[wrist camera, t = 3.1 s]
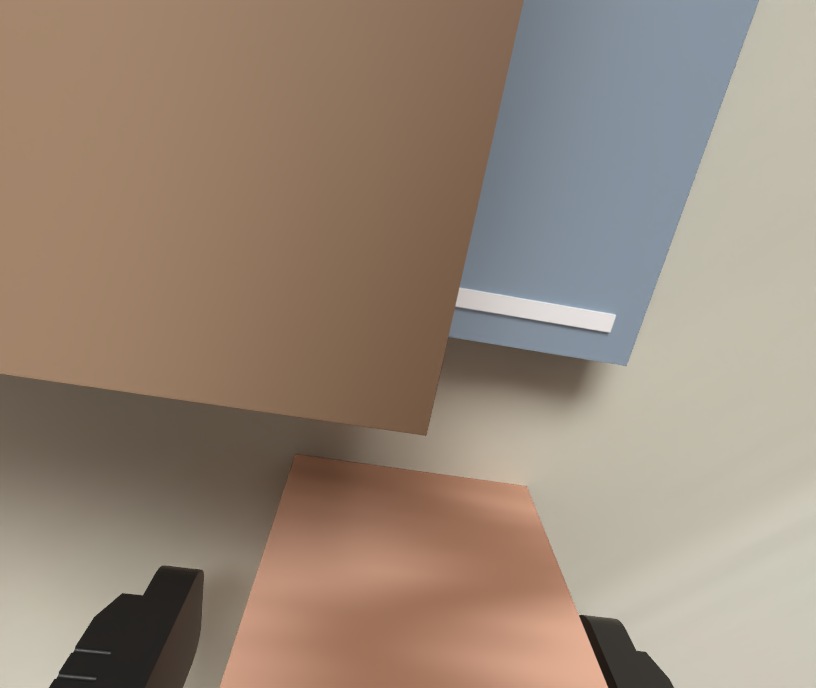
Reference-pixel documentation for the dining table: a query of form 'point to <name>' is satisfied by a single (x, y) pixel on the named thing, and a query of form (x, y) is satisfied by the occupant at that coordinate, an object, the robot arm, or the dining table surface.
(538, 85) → the base
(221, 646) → the dining table surface
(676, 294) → the dining table surface
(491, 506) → the terracotta block
